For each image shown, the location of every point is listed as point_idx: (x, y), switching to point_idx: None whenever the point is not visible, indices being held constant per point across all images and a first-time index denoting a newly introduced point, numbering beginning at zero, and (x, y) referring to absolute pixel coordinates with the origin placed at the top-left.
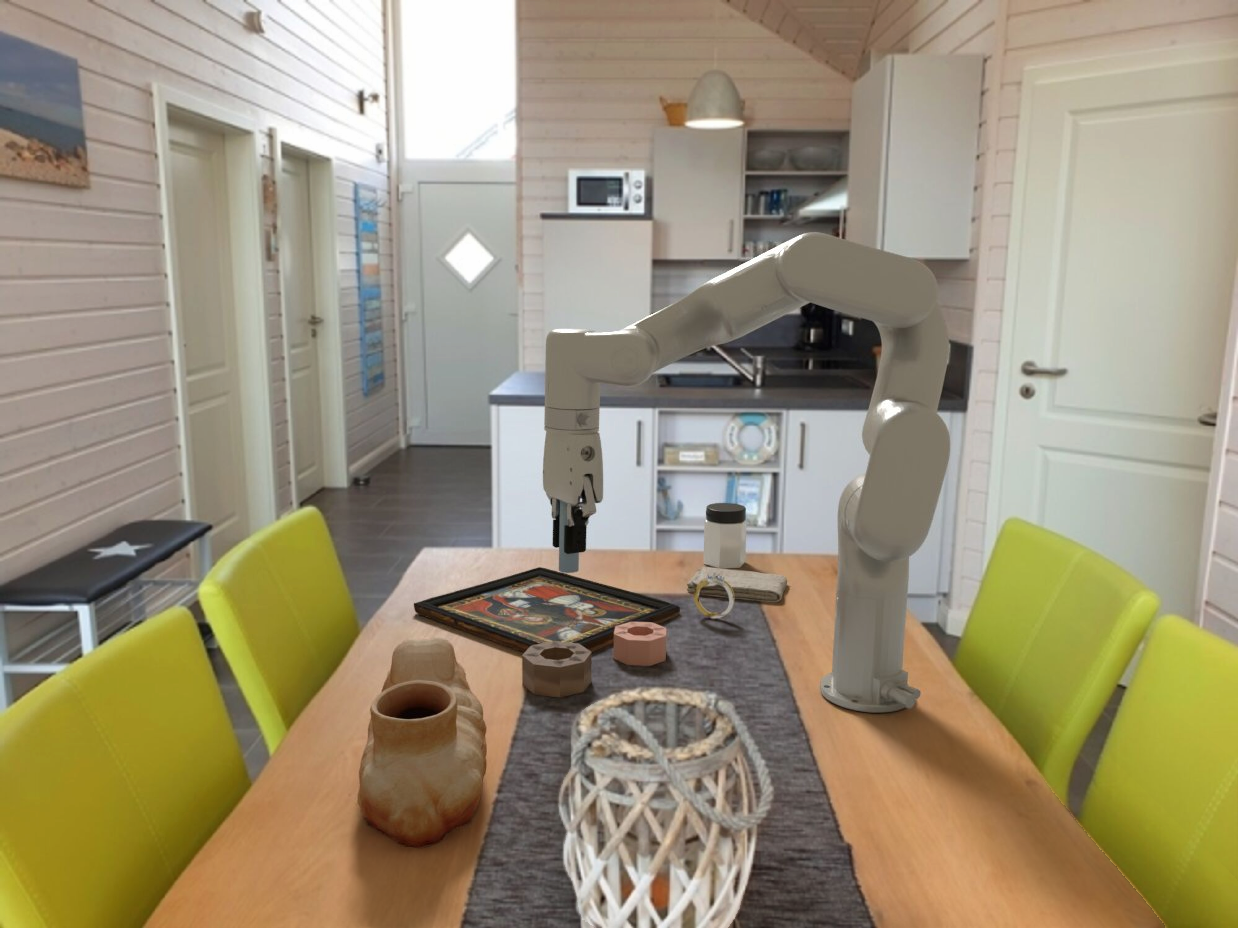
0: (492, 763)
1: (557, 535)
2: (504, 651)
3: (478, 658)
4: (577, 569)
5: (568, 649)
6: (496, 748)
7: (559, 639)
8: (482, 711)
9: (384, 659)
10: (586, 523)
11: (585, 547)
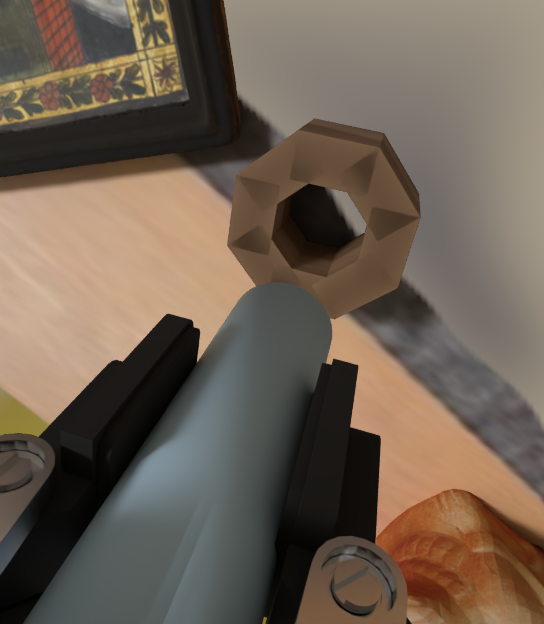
0: (510, 497)
1: None
2: (97, 178)
3: (107, 247)
4: (327, 320)
5: (311, 183)
6: (474, 464)
7: (119, 29)
8: (534, 612)
9: (34, 368)
10: (393, 584)
11: (354, 376)
